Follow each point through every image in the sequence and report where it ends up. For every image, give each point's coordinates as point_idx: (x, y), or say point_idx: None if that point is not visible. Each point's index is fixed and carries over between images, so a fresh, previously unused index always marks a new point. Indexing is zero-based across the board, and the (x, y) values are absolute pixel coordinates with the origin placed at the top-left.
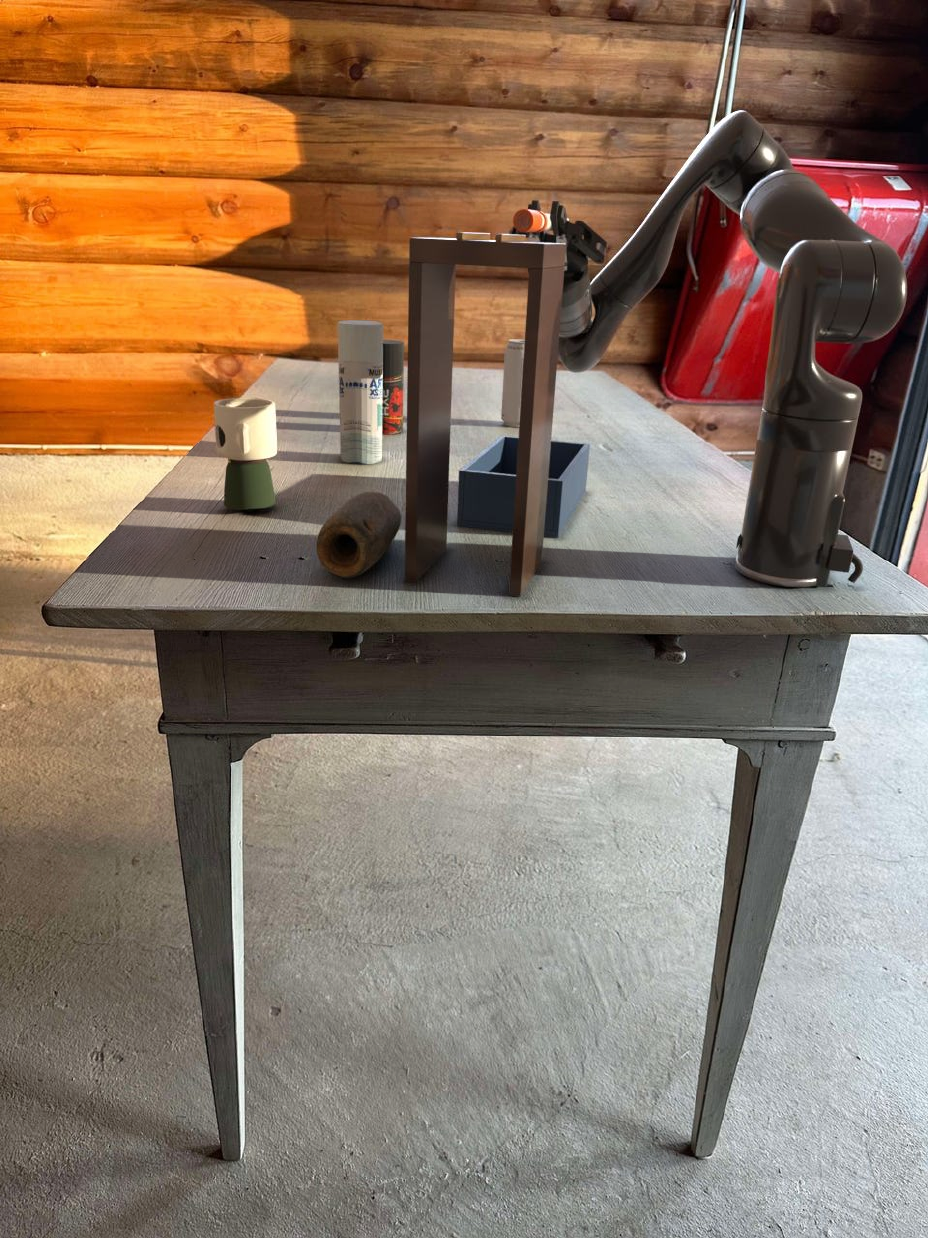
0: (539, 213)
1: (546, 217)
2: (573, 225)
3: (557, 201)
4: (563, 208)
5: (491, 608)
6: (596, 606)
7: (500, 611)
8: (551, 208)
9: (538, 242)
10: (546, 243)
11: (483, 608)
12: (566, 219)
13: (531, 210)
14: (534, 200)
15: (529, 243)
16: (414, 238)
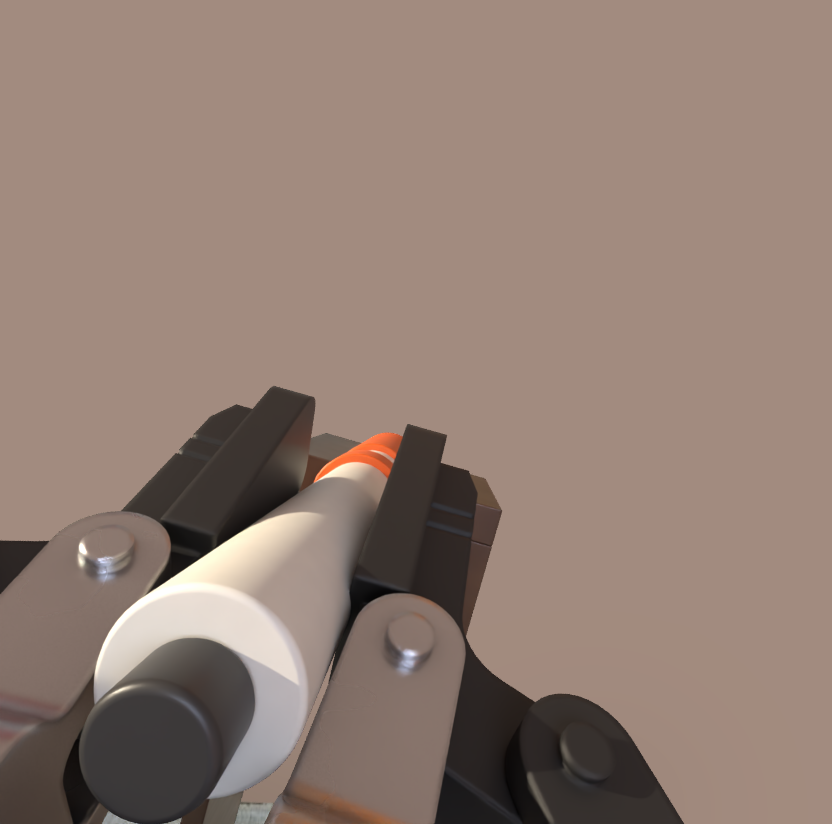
0: (355, 447)
1: (324, 468)
2: (21, 559)
3: (283, 394)
4: (226, 423)
5: (254, 815)
6: (115, 819)
7: (244, 807)
8: (307, 442)
9: (331, 455)
10: (322, 436)
11: (263, 815)
12: (143, 506)
13: (378, 436)
14: (429, 434)
15: (342, 438)
16: (479, 477)
